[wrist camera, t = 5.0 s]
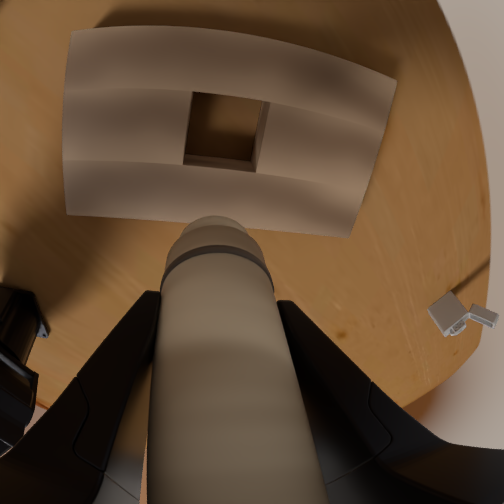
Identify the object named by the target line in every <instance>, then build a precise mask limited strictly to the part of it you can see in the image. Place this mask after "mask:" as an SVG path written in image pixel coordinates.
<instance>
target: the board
mask: <svg viewBox="0 0 504 504" xmlns="http://www.w3.org/2000/svg"><path fill="white" fill-rule="evenodd" d="M396 85H397V80H395V79H392V78H390V77H388V76H386V75H383V74H381V73H379V72H376V71H374V70H371V69H369V68H366V67H364V66H361V65H359V64H356V63H353V62H350V61H348V60H345V59H342V58H339V57H336V56H333V55H330V54H327V53H324V52H320V51H317V50H314V49H310V48H307V47H303V46H299V45H295V44H292V43H287V42H283V41H279V40H275V39H270V38H265V37H260V36H255V35H249V34H244V33H237V32H231V31H223V30H215V29H206V28H195V27H181V26H117V27H103V28H92V29H84V30H76V31H72V33H71V38H70V44H69V51H68V58H67V65H66V74H65V85H64V98H63V118H62V158H63V179H64V193H65V204H66V213H67V215H79V216H96V217H113V218H128V219H143V220H157V221H170V222H183V223H192V222H193V221H195V220H197V219H199V218H202V217H206V216H213V215H216V216H224V217H228V218H231V219H233V220H235V221H236V222H238V223H239V224H240V225H242V226H243V227H244V228H253V229H264V230H274V231H284V232H294V233H304V234H314V235H323V236H332V237H341V238H349V236H350V234H351V231H352V228H353V226H354V223H355V220H356V218H357V215H358V212H359V209H360V206H361V203H362V201H363V198H364V195H365V192H366V189H367V186H368V183H369V180H370V177H371V174H372V171H373V168H374V164H375V161H376V158H377V155H378V151H379V148H380V145H381V141H382V138H383V134H384V131H385V127H386V124H387V120H388V117H389V113H390V109H391V105H392V101H393V97H394V93H395V89H396ZM194 92H204V93H213V94H222V95H229V96H236V97H243V98H249V99H255V100H261V101H262V105H261V110H260V115H259V120H258V125H257V130H256V135H255V140H254V145H253V150H252V155H251V160H250V161H243V160H235V159H227V158H218V157H209V156H199V155H188V154H185V152H186V143H187V135H188V128H189V120H190V113H191V107H192V100H193V94H194Z"/></svg>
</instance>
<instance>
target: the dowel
mask: <svg viewBox="0 0 504 504" xmlns="http://www.w3.org/2000/svg"><path fill="white" fill-rule="evenodd" d="M160 293H161V301H160V308H159V315H158V323H157V331H156V338H155V345H154V353H153V363H152V374H151V385H150V398H149V414H148V435H147V504H330V502H329V498H328V494H327V490H326V487H325V483H324V479H323V475H322V471H321V467H320V463H319V459H318V456H317V452H316V448H315V444H314V440H313V436H312V433H311V429H310V425H309V421H308V418H307V414H306V410H305V406H304V402H303V399H302V395H301V391H300V388H299V384H298V380H297V376H296V373H295V369H294V365H293V362H292V358H291V354H290V351H289V347H288V343H287V339H286V336H285V332H284V329H283V325H282V321H281V318H280V314H279V310H278V307H277V303H276V300H275V296H274V286H273V282H272V279H271V275H270V273H269V271H268V269H267V267H266V264H265V260H264V257H263V253H262V251H261V249H260V247H259V245H258V244H257V242H256V241H255V240H254V239H253V238H252V237H250V236H249V235H248V233H247V231H246V230H245V229H244V227H243V226H242V225H240V224H239V223H238V222H236V221H235V220H233V219H231V218H228V217H224V216H216V215H213V216H206V217H202V218H199V219H197V220H195V221H193V222H192V223H190V224H189V225H188V226H187V227H186V228H185V229H184V230H183V232H182V234H181V236H180V238H179V239H178V240H177V241H176V242H175V243H174V244H173V246H172V247H171V249H170V251H169V253H168V257H167V261H166V267H165V273H164V275H163V277H162V281H161V286H160Z"/></svg>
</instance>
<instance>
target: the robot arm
mask: <svg viewBox="0 0 504 504" xmlns="http://www.w3.org/2000/svg"><path fill="white" fill-rule="evenodd" d="M160 301H161V293H160V292H159V291H149V290H147V291H145V292H144V293H143V294H142V295H141V297H140V298H139V299H138V300H137V301H136V302H135V304H134V305H133V306H132V307H131V308H130V309H129V311H128V312H127V313H126V314H125V315H124V317H123V318H122V319H121V320H120V321H119V322H118V324H117V325H116V326H115V327H114V328H113V330H112V331H111V332H110V333H109V335H108V336H107V337H106V338H105V339H104V341H103V342H102V343H101V344H100V346H99V347H98V348H97V349H96V351H95V352H94V353H93V354H92V356H91V357H90V358H89V359H88V361H87V362H86V363H85V364H84V366H83V367H82V368H81V370H80V371H79V372H78V373H77V377H74V378H73V380H72V381H71V382H70V384H69V385H68V386H67V388H66V389H65V390H64V391H63V392H62V394H61V395H60V396H59V397H58V399H57V400H56V401H55V402H54V403H53V405H52V406H51V407H50V408H49V409H48V410H47V411H46V412H45V413H44V414H43V416H42V417H41V418H40V419H39V420H38V421H37V422H36V423H35V424H34V425H33V426H32V427H31V428H30V429H29V430H28V431H27V433H26V434H25V435H24V430H25V427H27V425H28V424H29V423H30V420H31V418H32V416H33V413H34V410H35V403H36V393H37V385H38V377H39V374H38V373H36V372H35V371H34V372H33V371H32V370H31V369H29V368H28V367H27V366H25V365H26V363H27V360H28V357H29V354H30V352H31V349H32V347H33V344H34V341H35V339H36V336H37V337H42V338H48V336H49V332H48V330H47V327H46V325H45V322H44V320H43V317H42V315H41V312H40V309H39V307H38V304H37V301H36V298H35V296H34V294H33V293H32V292H29V291H23V290H17V289H11V288H5V287H0V456H1V455H3V454H4V453H5V452H7V451H8V450H9V449H10V448H12V447H13V448H12V449H11V450H10V451H9V452H7V453H6V454H5V455H3V456H2V457H0V504H139V503H140V502H139V500H140V490H141V479H142V470H143V461H144V453H145V445H146V438H147V431H148V414H149V398H150V385H151V374H152V363H153V353H154V345H155V338H156V331H157V323H158V315H159V308H160ZM276 303H277V307H278V310H279V314H280V318H281V321H282V325H283V329H284V332H285V336H286V339H287V343H288V347H289V351H290V354H291V358H292V362H293V365H294V369H295V373H296V376H297V380H298V384H299V388H300V391H301V395H302V399H303V402H304V406H305V410H306V414H307V418H308V421H309V425H310V429H311V433H312V436H313V440H314V444H315V448H316V452H317V456H318V459H319V463H320V467H321V471H322V475H323V479H324V483H325V487H326V490H327V494H328V498H329V502H330V504H504V450H501V449H489V448H479V447H471V446H463V445H457V444H452V443H449V442H446V441H444V440H442V439H440V438H439V437H437V436H436V435H434V434H433V433H432V432H431V431H429V430H428V429H427V428H425V427H424V426H423V425H421V424H420V423H419V422H418V421H417V420H415V419H414V418H413V417H412V416H410V415H409V414H408V413H407V412H406V411H404V410H403V409H402V408H401V407H400V406H398V405H397V404H396V403H395V402H394V401H393V400H392V399H391V398H390V397H388V396H387V395H386V394H385V393H384V392H383V391H382V390H381V389H380V388H379V387H378V386H377V385H376V384H375V383H374V382H373V381H372V382H371V379H370V378H369V377H368V376H367V375H366V374H365V373H364V372H363V371H362V370H361V369H360V368H359V367H358V366H357V365H356V364H355V363H354V362H353V361H352V360H351V359H350V358H349V357H348V356H347V355H346V354H345V353H344V352H343V351H342V350H341V349H340V348H339V347H338V346H337V345H336V344H335V343H334V342H333V341H332V340H331V339H330V338H329V337H328V336H327V335H326V334H325V333H324V332H323V331H322V330H321V329H320V328H319V327H318V326H317V325H316V324H315V323H314V322H313V321H312V320H311V319H310V318H309V317H308V316H307V315H306V314H305V313H304V312H303V311H302V310H301V309H300V308H299V307H298V306H297V305H296V304H295V303H294V302H292V301H290V300H278V301H277V302H276ZM23 435H24V436H23Z"/></svg>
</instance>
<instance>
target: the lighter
mask: <svg viewBox="0 0 504 504" xmlns="http://www.w3.org/2000/svg"><path fill="white" fill-rule="evenodd" d="M427 310H428V313H429V315H430V316H431V318H432V319H433V321H434V322H435V324H436V325H437V326H438V328H439V329H440V331H441V332H442V334H443V335H444V337H446V336H447V335H449V334H450V335H458V334H459V333H460V332H461V331H463V330H464V329H465V328H466V323H465V321H466V320H467V319H468V318H470V319H472V320H474V321H477V322H479V323H481V324H483V325H486V326H488V327H490V328H492V329H494V328H495V326H496V323H497V321H498V317H499V315H498V314H497V313H495V312H492V311H490V310H488V309H485V308H483V307H481V306H478V305H476V304H472V306H471V308H470V310H469V313H468V311H467V310H466V309H465V307H464V306H463V305H462V304H461V302H460V301H459V300H458V299H457V297H456V296H455V295H454V294H453V293H452V291H449V292H448V293H447V294H445V295H444V296H443V297H442V298H440V299H439V300H438V301H437V302H435V303H434V304H433V305H431V306H430V307H429V308H428V309H427Z"/></svg>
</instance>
